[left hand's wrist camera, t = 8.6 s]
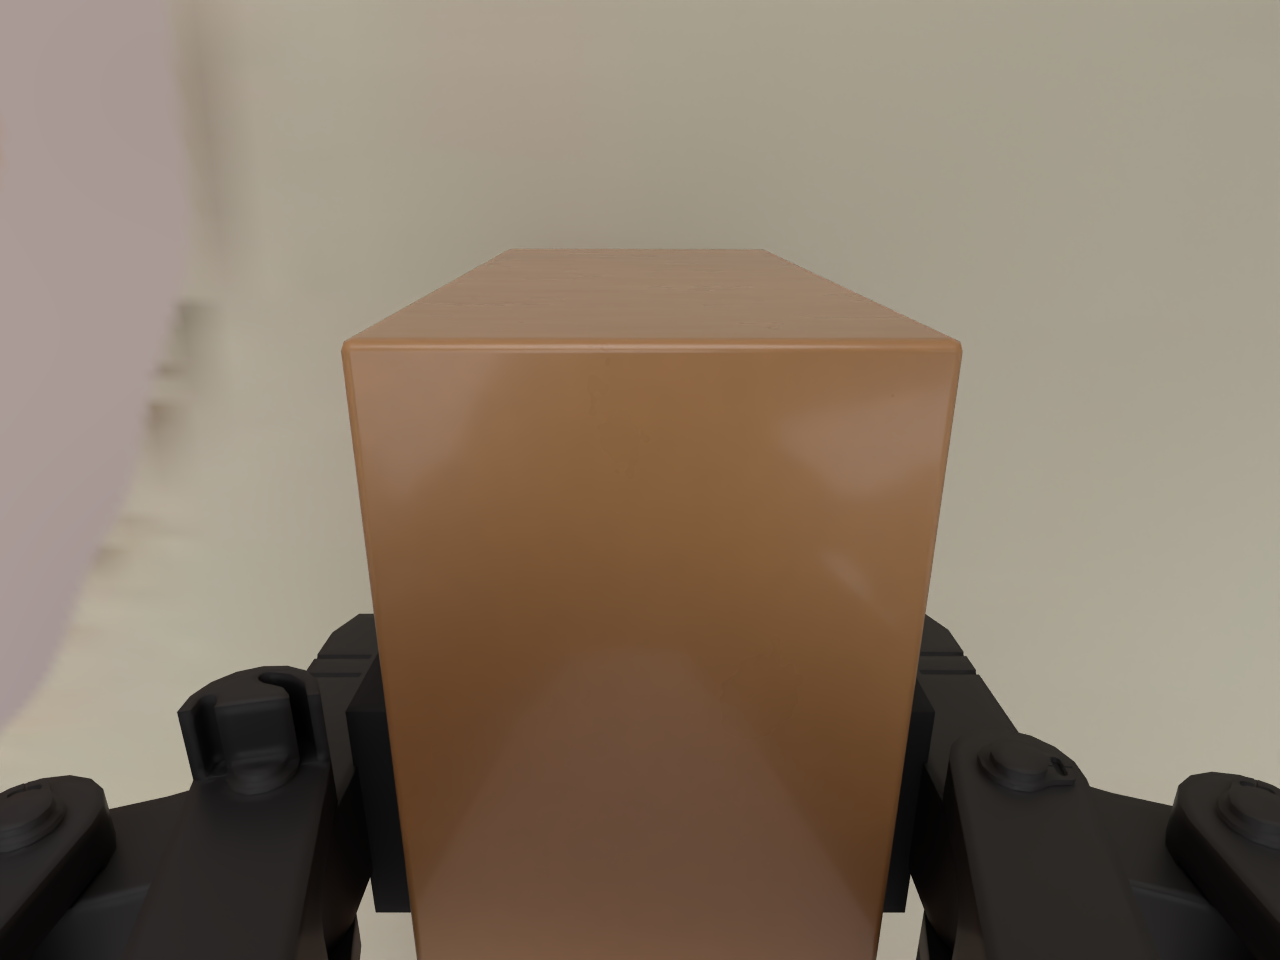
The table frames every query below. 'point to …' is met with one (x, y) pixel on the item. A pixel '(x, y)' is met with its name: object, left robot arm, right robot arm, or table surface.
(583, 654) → the wooden plank
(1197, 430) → the table surface
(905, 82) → the table surface
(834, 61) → the table surface
